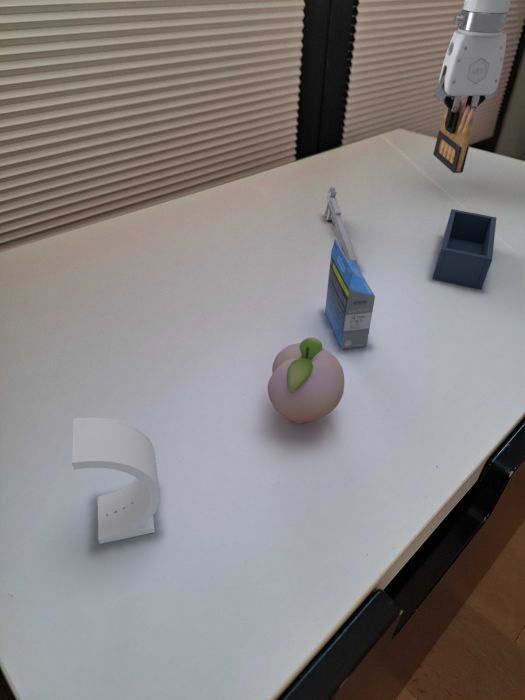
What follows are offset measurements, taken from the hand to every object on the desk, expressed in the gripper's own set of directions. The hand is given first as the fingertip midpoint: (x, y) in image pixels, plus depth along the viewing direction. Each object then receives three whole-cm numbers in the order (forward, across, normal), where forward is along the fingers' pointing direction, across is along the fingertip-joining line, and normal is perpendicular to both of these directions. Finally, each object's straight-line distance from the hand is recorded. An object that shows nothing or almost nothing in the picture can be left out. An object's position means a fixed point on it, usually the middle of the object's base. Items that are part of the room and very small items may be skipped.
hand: (455, 130), depth 101 cm
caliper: (+12, -28, -20) cm, 36 cm away
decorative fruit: (+12, -43, -60) cm, 75 cm away
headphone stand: (+11, -62, -71) cm, 95 cm away
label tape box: (+12, -34, -45) cm, 58 cm away
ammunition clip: (+7, 0, 0) cm, 7 cm away
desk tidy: (+12, -9, -29) cm, 33 cm away
